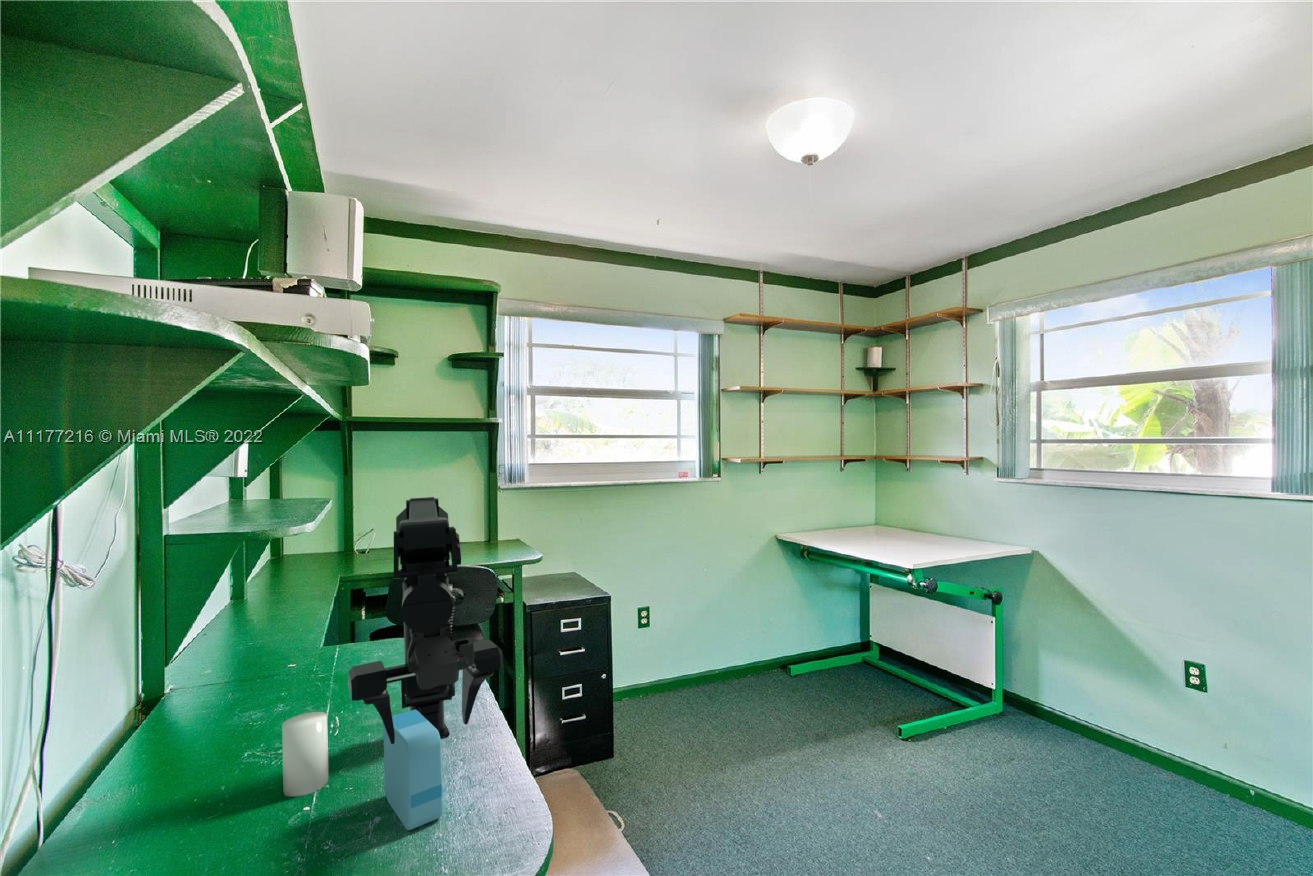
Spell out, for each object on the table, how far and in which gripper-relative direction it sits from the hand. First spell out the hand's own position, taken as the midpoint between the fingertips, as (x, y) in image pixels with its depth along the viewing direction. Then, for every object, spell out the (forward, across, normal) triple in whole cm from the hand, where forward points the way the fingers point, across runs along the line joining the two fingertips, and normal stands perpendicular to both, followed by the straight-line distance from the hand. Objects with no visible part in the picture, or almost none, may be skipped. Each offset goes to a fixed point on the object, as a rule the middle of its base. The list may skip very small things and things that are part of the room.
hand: (430, 733), depth 78 cm
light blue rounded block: (+13, -1, +8) cm, 15 cm away
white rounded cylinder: (+13, -14, +24) cm, 31 cm away
